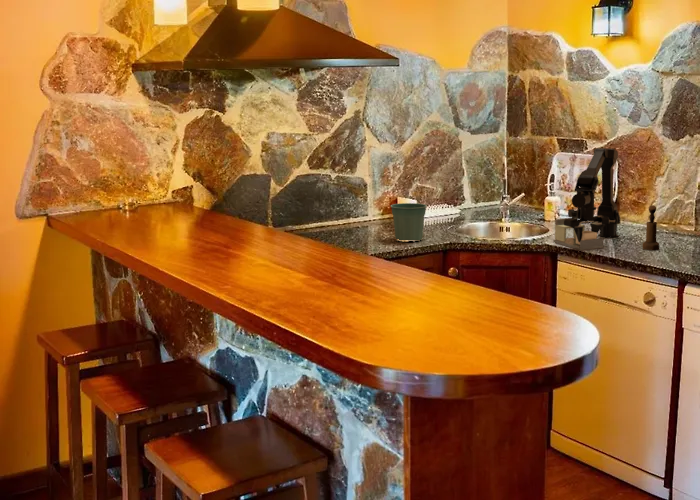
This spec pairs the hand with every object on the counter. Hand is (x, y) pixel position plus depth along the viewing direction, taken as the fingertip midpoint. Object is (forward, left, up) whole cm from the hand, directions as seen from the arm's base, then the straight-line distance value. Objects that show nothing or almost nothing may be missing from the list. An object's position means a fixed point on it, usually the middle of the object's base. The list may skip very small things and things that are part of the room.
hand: (586, 241), depth 342 cm
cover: (0, -12, -1) cm, 12 cm away
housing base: (0, -6, -3) cm, 7 cm away
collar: (0, 0, -1) cm, 1 cm away
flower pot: (+60, -49, -3) cm, 77 cm away
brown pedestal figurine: (-21, +14, -3) cm, 26 cm away
